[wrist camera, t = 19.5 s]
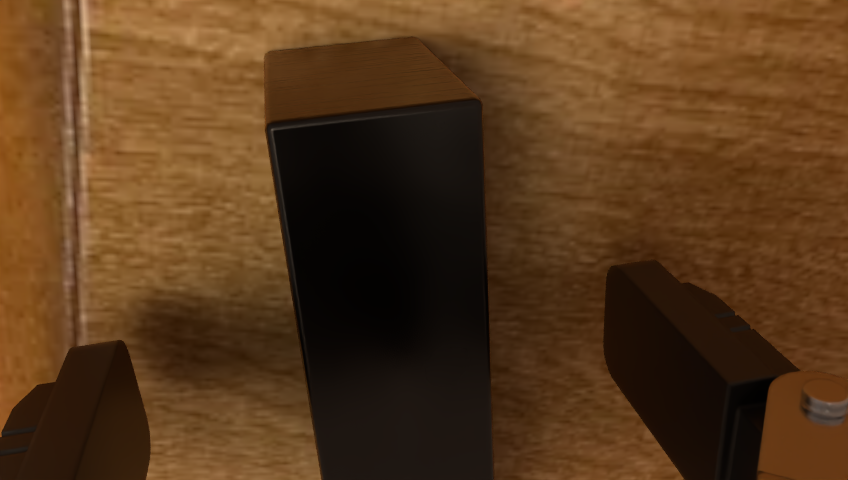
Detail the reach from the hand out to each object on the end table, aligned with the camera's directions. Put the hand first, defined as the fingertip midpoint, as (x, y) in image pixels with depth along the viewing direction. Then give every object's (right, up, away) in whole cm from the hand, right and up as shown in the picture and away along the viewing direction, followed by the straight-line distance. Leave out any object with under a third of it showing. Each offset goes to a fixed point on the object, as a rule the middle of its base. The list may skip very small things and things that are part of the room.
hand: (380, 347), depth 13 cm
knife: (0, -4, +3) cm, 5 cm away
